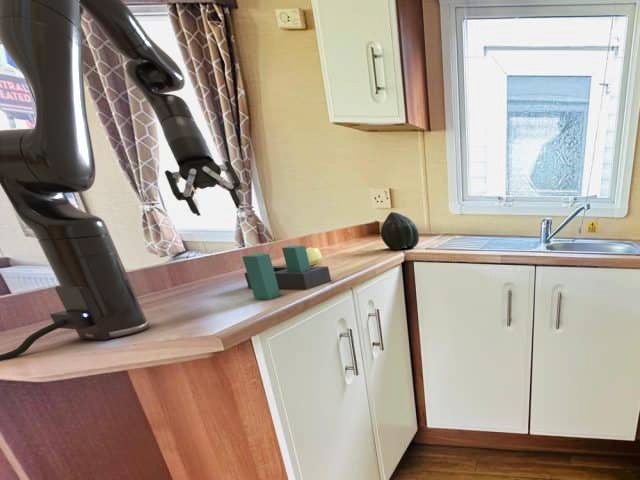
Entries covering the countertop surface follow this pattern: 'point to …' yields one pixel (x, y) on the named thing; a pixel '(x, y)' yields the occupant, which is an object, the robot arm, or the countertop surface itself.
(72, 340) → the countertop surface
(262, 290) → the green block
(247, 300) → the countertop surface
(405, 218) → the squash
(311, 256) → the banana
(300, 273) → the mount
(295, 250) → the block
